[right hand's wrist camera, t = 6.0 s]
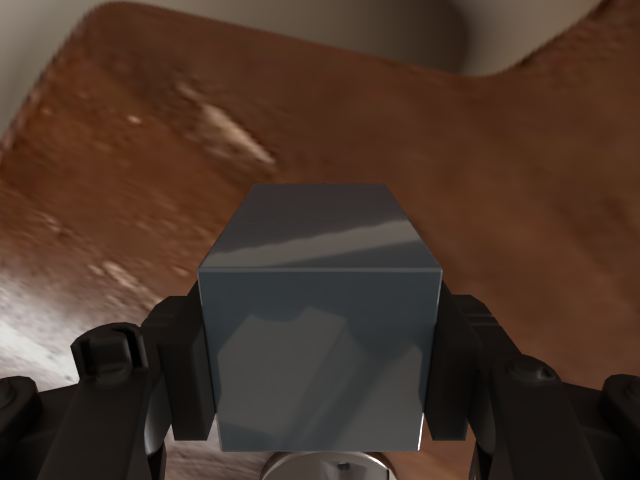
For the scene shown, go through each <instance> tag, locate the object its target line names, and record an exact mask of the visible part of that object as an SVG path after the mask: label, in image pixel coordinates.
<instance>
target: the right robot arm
mask: <svg viewBox="0 0 640 480" xmlns="http://www.w3.org/2000/svg"><path fill="white" fill-rule="evenodd" d="M70 347H71V351H72V354H73V358H74V361H75V364H76V368H77V371H78V375H79V378H80V380H79V382H78V383H77V384H74V385H70V386H66V387H61V388H57V389H52V390H47V391H43V392H38V389H37V386H36V383H35V381H33V380H32V379H31V378H29V377H24V376H13V377H6V378H2V379H0V480H164V476H165V467H166V458H167V455H166V448H165V443H164V439H165V436H166V434H167V432H168V429H169V427H170V425H171V424H172V429H173V435H174V440H175V441H207V439H208V435H209V432H210V429H211V426H212V423H213V420H214V417H215V413H216V412H215V405H214V397H213V390H212V382H211V374H210V367H209V359H208V352H207V344H206V337H205V329H204V322H203V315H202V307H201V300H200V292H199V285H198V279H197V281H196V282H195V284H194V286H193V287H192V289H191V290H190V292H189V293H188V295H187V296H169V297H167V298H166V299H164V300H163V301H161V302H160V303H158V304H157V305H156V306H155V307H154V308H153V310H152V311H151V312H150V314H149V315H148V318H146V319H145V320H144V322H143V323H142V324H141V327H138V326H137V325H136V324H132V323H127V322H120V323H110V324H106V325H102V326H99V327H96V328H94V329H91V330H89V331H87V332H85V333H84V334H82V335H81V336H79V337H78V338H77V339H76V340H75V341H74V342H73V343H72V345H71V346H70ZM424 414H425V417H426V421H427V424H428V427H429V430H430V433H431V436H432V439H433V441H465V439H466V433H467V428H468V423H469V424H470V426H471V428H472V430H473V433H474V435H475V437H476V443H475V448H474V453H473V457H472V462H471V467H470V472H469V480H474V477H475V475H476V480H640V377H638V376H633V375H625V374H618V375H611V376H610V377H609V378H607V379H606V380H605V382H604V385H603V388H602V391H600V390H596V389H591V388H586V387H582V386H577V385H572V384H568V383H565V382H562V381H561V379H560V378H559V376H558V375H557V373H556V372H555V371H554V370H553V369H552V368H551V367H549V366H548V365H547V364H546V363H544V362H542V361H540V360H538V359H536V358H534V357H531V356H528V355H524V354H522V353H521V352H520V351H519V349H518V348H517V347H516V345H515V344H514V343H513V342H512V340H511V339H510V338H509V336H508V335H507V334H506V332H505V331H504V330H503V328H502V327H501V326H499V323H498V322H497V320H496V319H495V318H494V317H492V314H491V312H490V311H489V310H488V308H487V307H486V306H485V304H483V303H482V302H480V301H479V300H477V299H476V298H474V297H473V296H471V295H452V294H451V292H450V291H449V289H448V288H447V286H446V284H445V283H444V281H443V280H442V282H441V290H440V297H439V305H438V312H437V320H436V327H435V334H434V342H433V349H432V357H431V365H430V372H429V380H428V387H427V395H426V402H425V410H424ZM260 480H398V479H397V475H396V472H395V469H394V467H393V466H392V464H391V463H390V461H389V460H388V459H387V458H386V457H385V456H384V455H383V454H382V453H380V452H277V453H276V454H274V455H273V456H272V457H271V458H270V459H269V461H268V462H267V463H266V465H265V466H264V468H263V470H262V472H261V476H260Z"/></svg>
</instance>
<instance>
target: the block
mask: <svg viewBox="0 0 640 480" xmlns="http://www.w3.org/2000/svg"><path fill="white" fill-rule="evenodd" d="M442 274H443V270H442V267H441V266H440V264H439V263H438V261H437V260H436V258H435V257H434V255H433V254H432V252H431V251H430V249H429V248H428V246H427V245H426V243H425V242H424V240H423V239H422V237H421V236H420V234H419V233H418V231H417V230H416V229H415V227H414V226H413V224H412V223H411V221H410V220H409V218H408V217H407V215H406V214H405V212H404V211H403V209H402V208H401V206H400V205H399V203H398V202H397V200H396V199H395V197H394V196H393V194H392V193H391V191H390V190H389V188H388V187H387V185H386V184H254V185H253V187H252V188H251V189H250V191H249V192H248V194H247V195H246V197H245V198H244V200H243V201H242V203H241V204H240V206H239V207H238V209H237V210H236V212H235V213H234V215H233V216H232V218H231V219H230V221H229V222H228V224H227V225H226V227H225V228H224V230H223V231H222V233H221V234H220V236H219V237H218V238H217V240H216V241H215V243H214V244H213V246H212V247H211V249H210V250H209V252H208V253H207V255H206V256H205V258H204V259H203V261H202V262H201V264H200V265H199V267H198V268H197V277H198V285H199V292H200V300H201V307H202V315H203V322H204V329H205V337H206V344H207V352H208V359H209V367H210V374H211V382H212V390H213V397H214V405H215V412H216V420H217V428H218V435H219V443H220V449H221V451H223V452H417V451H419V448H420V440H421V433H422V425H423V418H424V410H425V402H426V395H427V387H428V380H429V372H430V365H431V357H432V349H433V342H434V334H435V327H436V320H437V312H438V305H439V297H440V290H441V282H442Z"/></svg>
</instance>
